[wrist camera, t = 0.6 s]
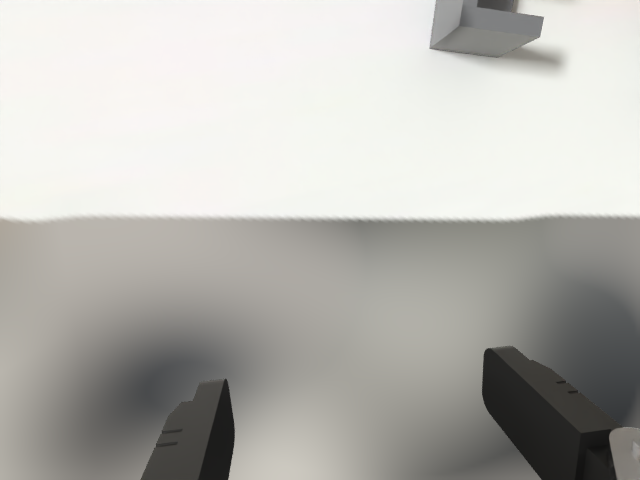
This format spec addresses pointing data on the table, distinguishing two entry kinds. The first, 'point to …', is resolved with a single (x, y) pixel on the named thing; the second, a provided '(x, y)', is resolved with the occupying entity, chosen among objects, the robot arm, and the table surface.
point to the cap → (482, 27)
